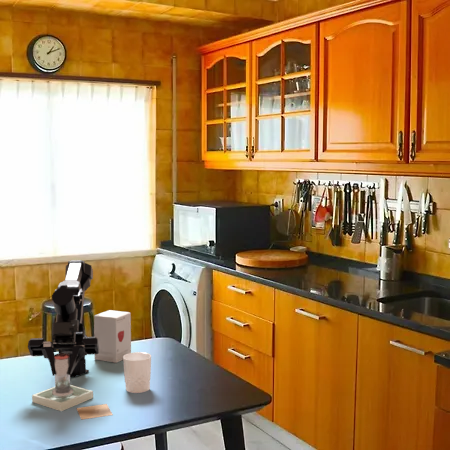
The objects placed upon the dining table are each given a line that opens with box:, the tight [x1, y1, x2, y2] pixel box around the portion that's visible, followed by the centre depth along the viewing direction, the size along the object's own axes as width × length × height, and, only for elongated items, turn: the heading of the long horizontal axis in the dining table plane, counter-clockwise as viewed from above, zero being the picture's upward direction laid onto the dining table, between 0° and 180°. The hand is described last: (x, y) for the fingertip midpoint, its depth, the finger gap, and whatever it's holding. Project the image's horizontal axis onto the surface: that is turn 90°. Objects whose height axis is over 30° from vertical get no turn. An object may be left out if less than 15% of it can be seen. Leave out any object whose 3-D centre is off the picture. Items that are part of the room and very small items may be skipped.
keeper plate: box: [76, 403, 113, 420], centre depth 171 cm, size 8×8×1 cm
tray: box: [31, 384, 94, 412], centre depth 179 cm, size 11×11×2 cm
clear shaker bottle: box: [52, 352, 73, 398], centre depth 178 cm, size 6×6×11 cm
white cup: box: [122, 351, 152, 394], centre depth 187 cm, size 8×8×10 cm
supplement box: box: [93, 309, 132, 364], centre depth 217 cm, size 9×9×15 cm
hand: (61, 374), depth 177 cm, fingers closed on clear shaker bottle, 4 cm apart
